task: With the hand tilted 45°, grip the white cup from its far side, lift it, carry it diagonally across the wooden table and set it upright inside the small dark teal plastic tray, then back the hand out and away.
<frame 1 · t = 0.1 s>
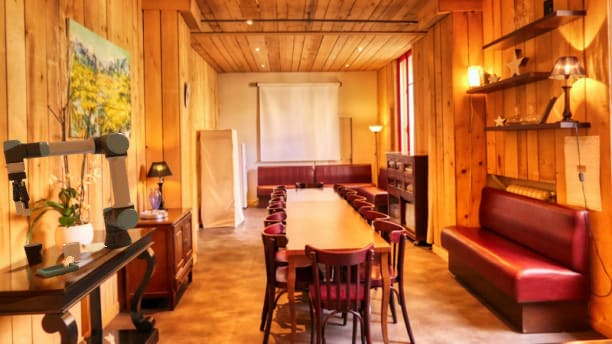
hand: (23, 215, 225), 28 cm above the table, tool pointing down, fingers open, 13 cm apart
tray: (58, 271, 220), on the table
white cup: (73, 263, 236), on the table
coffee mug: (38, 262, 246), on the table
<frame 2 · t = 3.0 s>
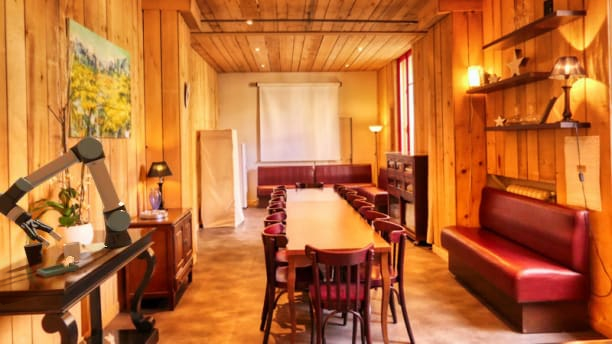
hand: (55, 242, 234), 11 cm above the table, tool tilted 45°, fingers open, 13 cm apart
nothing on the table moved.
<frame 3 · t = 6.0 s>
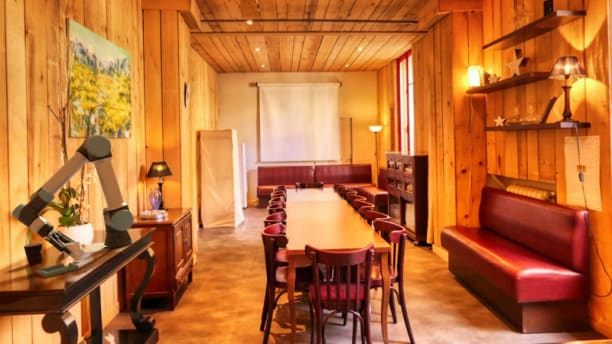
hand: (79, 254, 236), 4 cm above the table, tool tilted 45°, fingers closed on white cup, 8 cm apart
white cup: (73, 263, 236), on the table, touching gripper
everything else where it was.
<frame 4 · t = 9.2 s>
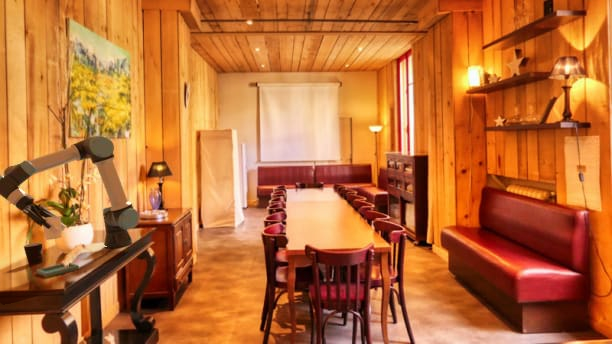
hand: (60, 230, 222), 19 cm above the table, tool tilted 45°, fingers closed on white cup, 8 cm apart
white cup: (54, 238, 222), point 16 cm above the table, touching gripper
everything else where it was.
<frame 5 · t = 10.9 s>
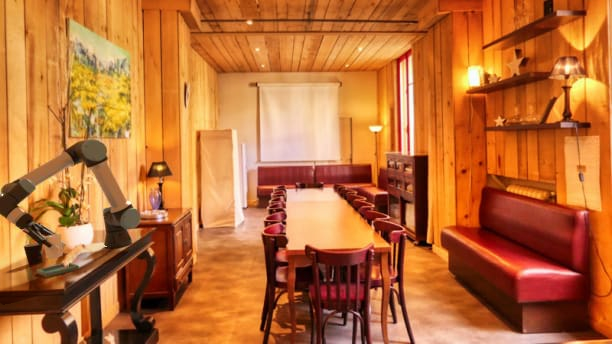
hand: (61, 248, 219), 11 cm above the table, tool tilted 45°, fingers closed on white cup, 8 cm apart
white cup: (54, 257, 219), point 7 cm above the table, touching gripper
everything else where it was.
when the fingers open (6 cm above the table, at t = 12.3 s): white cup drops 1 cm, resting on tray.
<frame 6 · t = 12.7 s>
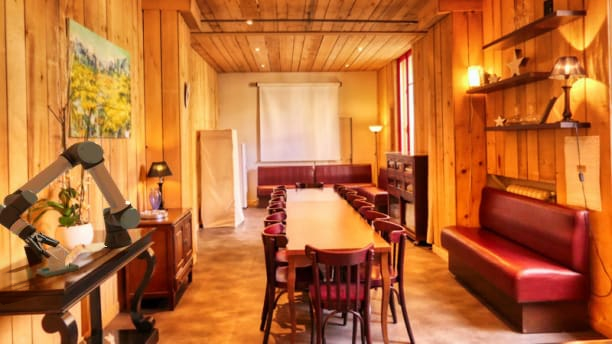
hand: (61, 257, 220), 6 cm above the table, tool tilted 45°, fingers open, 12 cm apart
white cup: (57, 270, 220), resting on tray
everything else where it was.
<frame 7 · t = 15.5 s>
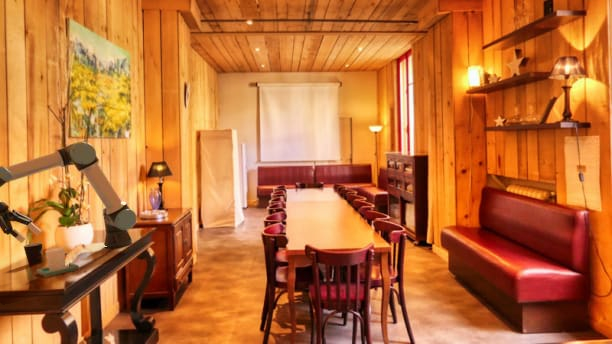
hand: (31, 236, 220), 18 cm above the table, tool tilted 40°, fingers open, 13 cm apart
nothing on the table moved.
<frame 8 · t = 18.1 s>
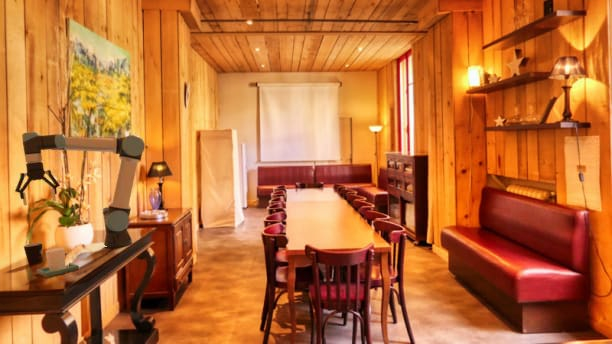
hand: (40, 202, 240), 32 cm above the table, tool pointing down, fingers open, 13 cm apart
nothing on the table moved.
at the end: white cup inside the target area on the tray (0.2 cm from its centre), point 0.4 cm above the tray's base; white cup tilted 0°; the gripper is holding nothing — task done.
